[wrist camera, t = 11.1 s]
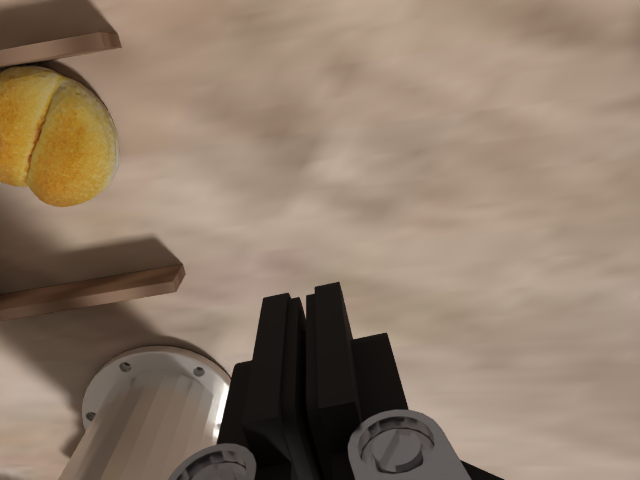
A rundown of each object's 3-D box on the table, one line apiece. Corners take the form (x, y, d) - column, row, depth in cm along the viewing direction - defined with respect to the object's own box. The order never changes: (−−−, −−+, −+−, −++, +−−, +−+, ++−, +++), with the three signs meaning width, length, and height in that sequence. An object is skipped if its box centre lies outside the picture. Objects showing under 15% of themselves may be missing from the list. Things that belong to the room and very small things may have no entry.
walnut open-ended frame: (117, 33, 32) (99, 32, 29) (185, 274, 38) (175, 291, 35) (-111, 75, 32) (-151, 77, 29) (-10, 306, 38) (-35, 327, 35)
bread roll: (98, 218, 36) (74, 237, 32) (-28, 155, 34) (-69, 167, 31) (145, 114, 34) (126, 122, 30) (12, 41, 32) (-26, 40, 28)
